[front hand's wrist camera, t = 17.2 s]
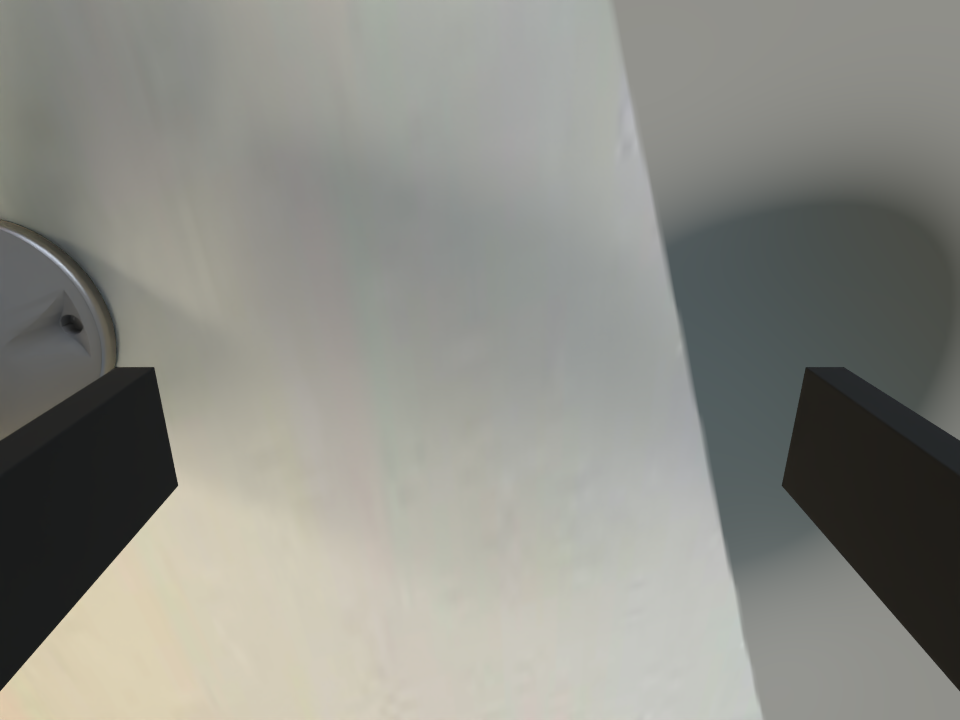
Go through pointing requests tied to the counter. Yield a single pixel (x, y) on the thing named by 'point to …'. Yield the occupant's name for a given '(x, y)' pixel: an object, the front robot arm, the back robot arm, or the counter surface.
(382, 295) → the counter surface
